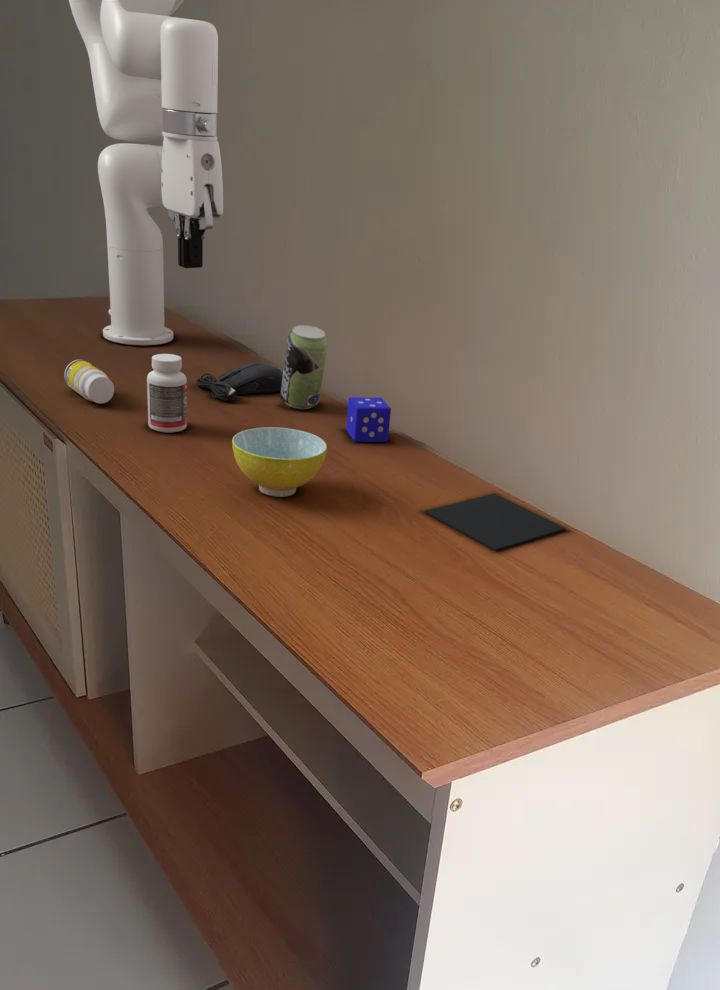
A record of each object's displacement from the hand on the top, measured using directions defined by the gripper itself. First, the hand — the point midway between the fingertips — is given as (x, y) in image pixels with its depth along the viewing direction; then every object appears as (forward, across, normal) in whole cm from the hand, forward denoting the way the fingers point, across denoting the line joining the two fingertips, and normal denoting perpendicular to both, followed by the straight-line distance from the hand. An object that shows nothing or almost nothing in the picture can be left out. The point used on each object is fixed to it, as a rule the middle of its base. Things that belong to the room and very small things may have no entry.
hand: (190, 266), depth 139 cm
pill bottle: (+18, -14, +12) cm, 26 cm away
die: (+18, -30, -12) cm, 37 cm away
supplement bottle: (+16, +6, +16) cm, 23 cm away
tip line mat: (+18, -61, -6) cm, 64 cm away
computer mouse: (+18, -4, -8) cm, 21 cm away
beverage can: (+18, -14, -11) cm, 26 cm away
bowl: (+18, -40, +12) cm, 46 cm away
